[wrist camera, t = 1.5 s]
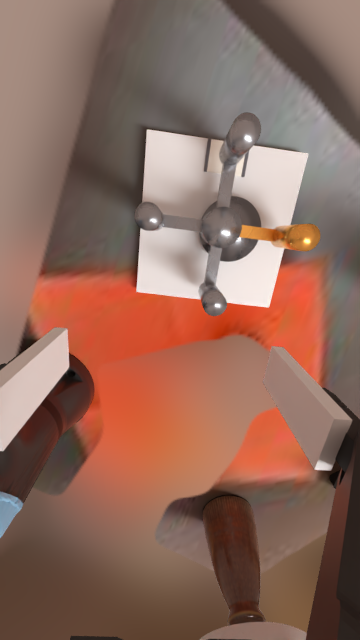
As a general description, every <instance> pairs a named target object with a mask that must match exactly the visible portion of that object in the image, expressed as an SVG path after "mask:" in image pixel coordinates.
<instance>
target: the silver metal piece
mask: <svg viewBox="0 0 360 640" xmlns="http://www.w3.org/2000/svg"><path fill="white" fill-rule="evenodd" d="M260 133H261V125H260V121H259V119H258V118H257V117H256V116H255V115H254V114H252V113H243V114H241V115H239V116H238V117H237V118H236V119H235V121H234V122H233V124H232V126H231V128H230V130H229V132H228V134H227V136H226V138H225V140H224V142H223V144H222V146H221V148H220V151H219V158H220V161H221V163H222V164H223V165H222V171H221V178H220V184H219V190H218V197H217V201H215V202H214V203H213V204H211V205H210V206H209V207H208V208H207V210H206V211H205V212H204V214H203V216H202V218H201V219H195V218H187V217H180V216H172V215H165V214H163V213H162V212H161V210H160V209H159V208H158V207H157V205H155V204H154V203H152V202H143V203H141V204H140V205H138V207H137V208H136V210H135V221H136V223H137V225H138V226H139V227H140V228H141V229H143V230H146V231H158V230H160V229H161V228H162V227H166V228H173V229H181V230H189V231H196V232H199V238H200V241H201V244H202V246H203V248H204V249H205V251H206V252H207V253H208V260H207V266H206V273H205V279H204V282H203V283H202V284H201V285H200V286H199V289H198V293H199V296H200V299H201V302H202V305H203V308H204V310H205V312H206V313H207V314H209V315H211V316H217V315H220V314H222V313H223V312H224V311H225V309H226V307H227V301H226V299H225V297H224V296H223V294H222V293H221V292H220V290H219V289H218V287H217V286H216V280H217V274H218V269H219V263H220V261H224V262H232V261H237V260H240V259H242V258H244V257H245V256H247V255H248V254H249V253H250V252H251V251H252V250H253V249H254V248H255V246H256V244H257V243H258V240H264V241H271V243H272V245H273V246H275V247H279V248H286V249H293V250H299V251H309V250H311V249H313V248H314V247H315V246H316V245H317V244H318V242H319V240H320V231H319V229H318V227H317V226H315V225H313V224H300V225H285V226H278V227H276V228H275V229H269V228H261V220H260V216H259V213H258V211H257V210H256V208H255V207H254V206H253V205H252V204H251V203H250V202H249V201H248V200H246V199H244V198H241V197H237V196H231V194H232V188H233V183H234V177H235V171H236V165H237V164H238V163H239V161H240V160H241V159H242V158H243V157H244V156H245V155H246V153H247V152H248V151H249V150H250V149H251V148H252V146H253V145H254V144H255V143H256V142H257V140H258V139H259V136H260Z"/></svg>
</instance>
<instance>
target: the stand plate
mask: <svg viewBox="0 0 360 640" xmlns="http://www.w3.org/2000/svg"><path fill="white" fill-rule="evenodd" d="M223 142H224V141H221V140H214V139H208V138H201V137H195V136H188V135H181V134H175V133H168V132H162V131H155V130H148V129H147V138H146V153H145V168H144V184H143V199H142V203H143V202H152V203H154V204H155V205H157V207H158V208H159V209H160V210H161V212H162V213H163V214H165V215H172V216H180V217H187V218H195V219H201V218H202V216H203V214H204V212H205V211H206V210H207V208H208V207H209V206H210V205H211V204H213V203H214V202H215V201H217V197H218V190H219V184H220V178H221V171H222V165H223V164H222V163H221V161H220V158H219V151H220V148H221V146H222V144H223ZM307 158H308V154H307V153H300V152H294V151H287V150H281V149H274V148H267V147H261V146H254V145H253V146H252V148H251V149H250V150H249V151H248V152H247V153H246V155H245V156H244V157H243V158H242V159H241V160H240V161H239V163H238V164H237V165H236V171H235V177H234V183H233V188H232V194H231V196H237V197H241V198H244V199H246V200H248V201H249V202H250V203H251V204H252V205H253V206H254V207H255V208H256V210H257V211H258V213H259V216H260V220H261V228H269V229H275V228H276V227H278V226H285V225H290V224H291V220H292V216H293V212H294V208H295V204H296V200H297V196H298V193H299V189H300V185H301V181H302V177H303V173H304V169H305V165H306V161H307ZM283 251H284V248H279V247H275V246H273V245H272V243H271V241H264V240H258V243H257V244H256V246H255V248H254V249H253V250H252V251H251V252H250V253H249V254H248V255H247V256H245V257H244V258H242V259H240V260H237V261H232V262H224V261H220V263H219V269H218V274H217V280H216V286H217V287H218V289H219V290H220V292H221V293H222V294H223V296H224V297H225V299H226V301H227V303H235V304H243V305H252V306H260V307H269V305H270V302H271V298H272V294H273V290H274V286H275V282H276V278H277V274H278V270H279V267H280V263H281V259H282V255H283ZM207 260H208V253H207V252H206V251H205V249H204V248H203V246H202V244H201V241H200V238H199V232H196V231H189V230H181V229H173V228H166V227H162V228H161V229H160V230H158V231H146V230H143V229H141V230H140V245H139V260H138V276H137V291H136V292H142V293H151V294H159V295H168V296H176V297H184V298H193V299H200V296H199V293H198V289H199V286H200V285H201V284H202V283H203V282H204V279H205V273H206V266H207Z"/></svg>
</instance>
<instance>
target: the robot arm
mask: <svg viewBox="0 0 360 640" xmlns="http://www.w3.org/2000/svg"><path fill="white" fill-rule="evenodd" d="M263 384H264V385H265V387H266V389H267V390H268V392H269V394H270V396H271V397H272V399H273V401H274V402H275V404H276V406H277V407H278V409H279V411H280V412H281V414H282V416H283V418H284V419H285V421H286V423H287V424H288V426H289V428H290V429H291V431H292V433H293V434H294V436H295V438H296V439H297V441H298V443H299V445H300V446H301V448H302V450H303V451H304V453H305V455H306V456H307V458H308V460H309V461H310V463H311V465H312V466H313V468H314V470H328V471H331V470H332V468H333V465H334V463H335V461H337V462H338V464H339V465H340V466H341V471H340V473H339V475H338V478H337V480H336V482H335V484H334V488H335V489H336V491H335V496H334V501H333V506H332V511H331V516H330V521H329V526H328V531H327V536H326V541H325V546H324V551H323V556H322V561H321V566H320V571H319V576H318V581H317V586H316V591H315V596H314V601H313V606H312V611H311V616H310V621H309V625H308V631H307V635H306V640H360V419H359V418H358V417H357V416H356V415H355V414H354V413H353V412H352V411H351V410H350V409H349V408H347V406H346V405H345V404H344V403H343V402H341V400H340V399H339V398H338V397H337V396H336V395H335V394H333V393H332V392H330V391H329V390H327V389H326V388H321V387H320V386H319V384H318V383H317V382H316V381H315V380H314V379H313V378H312V377H311V376H310V375H309V374H308V373H307V372H306V371H305V370H304V369H303V368H302V367H301V366H300V365H299V363H298V362H297V361H296V360H295V359H294V358H293V357H292V356H291V355H290V354H289V353H288V352H287V351H286V350H285V349H284V348H283V347H274V346H272V347H271V351H270V355H269V359H268V363H267V367H266V371H265V375H264V379H263ZM93 397H94V383H93V380H92V377H91V375H90V373H89V371H88V370H87V369H86V367H85V366H84V365H83V364H82V363H81V362H80V361H79V360H78V359H76V358H75V357H73V356H72V355H70V354H69V350H68V331H67V328H56V327H55V328H53V329H52V330H51V331H50V332H48V333H47V334H46V335H45V336H43V337H42V338H41V339H39V340H38V341H37V342H36V343H34V344H33V345H32V346H31V347H29V348H28V349H27V350H25V351H23V352H22V353H20V354H18V355H17V356H16V357H14V358H13V359H12V360H11V361H9V362H8V363H7V364H1V365H0V538H1V537H2V535H3V534H4V532H5V530H6V529H7V527H8V526H9V524H10V523H11V521H12V519H13V518H14V516H15V515H16V514H17V513H18V512H19V511H20V510H21V508H22V506H23V503H24V502H25V500H26V498H27V496H28V494H29V493H30V491H31V489H32V487H33V485H34V483H35V482H36V480H37V478H38V476H39V474H40V473H41V471H42V469H43V467H44V465H45V464H46V462H47V460H48V458H49V456H50V455H51V453H52V451H53V449H54V447H55V445H56V443H57V442H58V440H59V438H60V437H61V436H62V435H63V434H64V433H65V432H66V431H67V430H68V429H70V428H71V427H72V426H73V425H74V424H75V423H76V422H78V421H79V420H80V419H81V418H82V417H83V416H84V415H85V413H86V412H87V410H88V408H89V406H90V404H91V402H92V400H93ZM70 640H122V639H120V638H118V637H94V636H91V637H90V636H71V638H70ZM207 640H249V639H207Z"/></svg>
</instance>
